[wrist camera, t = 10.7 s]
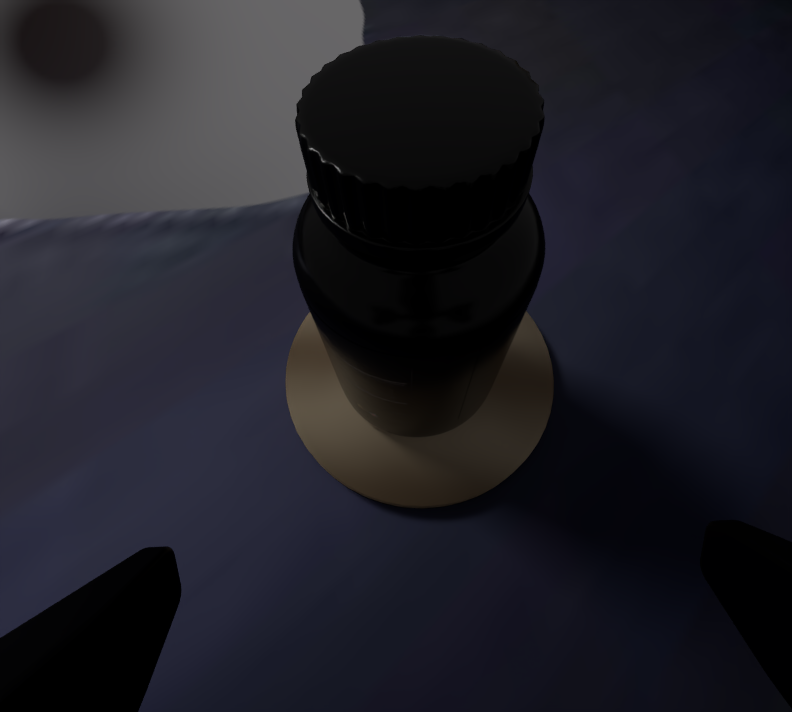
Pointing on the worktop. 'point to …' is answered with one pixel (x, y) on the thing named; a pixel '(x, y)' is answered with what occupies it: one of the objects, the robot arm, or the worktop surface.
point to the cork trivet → (421, 456)
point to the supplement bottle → (419, 223)
